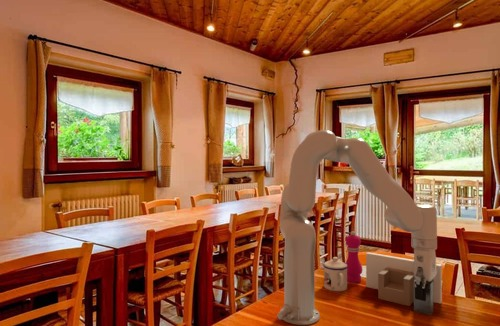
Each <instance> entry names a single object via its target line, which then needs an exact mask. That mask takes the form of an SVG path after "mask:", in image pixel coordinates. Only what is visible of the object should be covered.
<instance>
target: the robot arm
mask: <svg viewBox="0 0 500 326" xmlns="http://www.w3.org/2000/svg"><path fill="white" fill-rule="evenodd" d="M323 160H327V161H331V162H337V163H340V164H341V163H342V164H347V165H349V167H350V168H351V169H352V170H353V173H355V175H356V177H357V178H358V180H359V181H360V182H361V185H362V186H363V188H365V189H366V190H367V191H368V192H369V193H370V194H371V195H372V196H374V197H376V198H377V199H378V200H380V201H381V202H382V203H383V205H385V206H386V207H387V208H385V210H384V214H383V215H384V219H385V221H386V222H387V224H389V225H390V226H392V227H395V228H397V229H399V230H403V231H404V232H407V233H410V234H411V236H410V237H411V242H410V243H411V247H412V249H413V260H414V278H415V299H417V300H422V301H426V288H425V284H426V280H428V282H430V281H433V290H434V279H433V278H434V277H435V276H436V273H437V270H436V264H437V255H436V250H437V249H438V226H437V225H438V217H437V216H438V214H437V213H438V211H437V210H438V209H437V208H436V207H435V205H432V204H416V202H415V200H414V199H413V198H412V197H411V195H410V194H409V192H407V191H406V190H405V189H404V187H403V186H401V184H399V182H397V180H395V178H393V177H392V176H391V175H390V174H389V172H388V171H387V169H386V168H385V166H384V164H382V162H381V161H380V159H379V158H378V156H377V155H376V153H375V152H374V151H373V149H372V147H371V146H370V144H369V143H368V142H367V141H366V140H364V139H363V138H359V137H353V138H352V137H350V138H345V137H340V136H336V135H335V133H334V132H332V131H330V130H327V129H320V130H316V131H313V132H311V133H309V134H308V135H306V136H305V138H304V140H302V142H301V143H300V144H299V145H298V146H297V148H296V149H295V150H294V153H293V154H292V158H291V162H290V169H289V178H288V179H289V180H288V183H287V184H286V185H285V186H284V188H283V190H282V193H281V200H280V214H279V215H280V216H279V230H280V233H281V235H282V236H283V238H284V251H283V270H284V271H283V273H284V275H283V276H284V277H283V278H284V281H283V282H284V284H283V285H284V286H283V287H284V288H283V289H284V292H283V293H284V298H283V299H284V304H283V307H282V308H280V310H279V312H278V313H277V315H276V316H277V317H276V318H278V320H280V321H282V320H283V321H284V322H285V323H289V324H291V325H299V326H305V325H306V326H307V325H311V324H314V323H316V322H318V321H319V320H320V318H321V316H320V311H318V309H316V308H315V295H316V294H315V291H316V290H315V287H316V286H315V252H316V244H317V234H316V229H315V226H314V225H313V223H311V221H309V219H308V217H309V216H308V213H309V212H310V211H312V209H314V206H315V203H316V199H317V197H316V193H317V191H316V190H317V179H318V178H317V177H318V170H319V167H320V164H321V162H322V161H323ZM421 277H423V278H421ZM422 281H423V284H422Z"/></svg>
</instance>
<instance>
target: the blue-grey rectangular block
mask: <svg viewBox="0 0 500 326" xmlns="http://www.w3.org/2000/svg"><path fill="white" fill-rule="evenodd" d="M422 284H423V281H422ZM425 288H426V301H422V300H417V299H415V280H414V302H413V312H416V313H420V314H424V315H428V316H431V315H432V314H433V312H434V302H433V281H430V282H428V280H426V284H425Z"/></svg>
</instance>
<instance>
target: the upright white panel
mask: <svg viewBox="0 0 500 326" xmlns="http://www.w3.org/2000/svg"><path fill="white" fill-rule="evenodd" d="M365 257H366V258H365V260H366V261H365V262H366V263H365V267H366V268H365V270H366V271H365V272H366V273H365V277H366V278H365V279H366V281H365V282H366V283H365V285H366V288H369V289H370V288H371V289H375V290H378V291H377V292H378V293H377V295H378V296H377V297H378V299H379V300H382V301H383V300H384V301H387V302H392V303H395V304H400V305H403V306H408V307H409V306H411V305H412V304H414V280H415V278H414V259H410V258H406V257H399V256H394V255H386V254H383V253H382V254H380V253H374V252H366V253H365ZM436 270H437V273H436V276H435V277H434V278H433V279H434V290H433V303H436V304H442V301H443V297H442V295H443V291H442V290H443V287H442V286H443V264H441V263H436ZM421 278H423V277H421Z"/></svg>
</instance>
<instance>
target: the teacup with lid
mask: <svg viewBox="0 0 500 326" xmlns="http://www.w3.org/2000/svg"><path fill="white" fill-rule="evenodd" d="M347 268H348V266H347V264H346V262H344V261H341V259H339V258H338V257H337V256H334V257H332V259H330V260H328V261H327V260H326V261H325V262H324V263H323V286H324V288H325V289H326V290H329V291H331V292H343V291H346V290H347V289H348V281H347Z"/></svg>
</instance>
